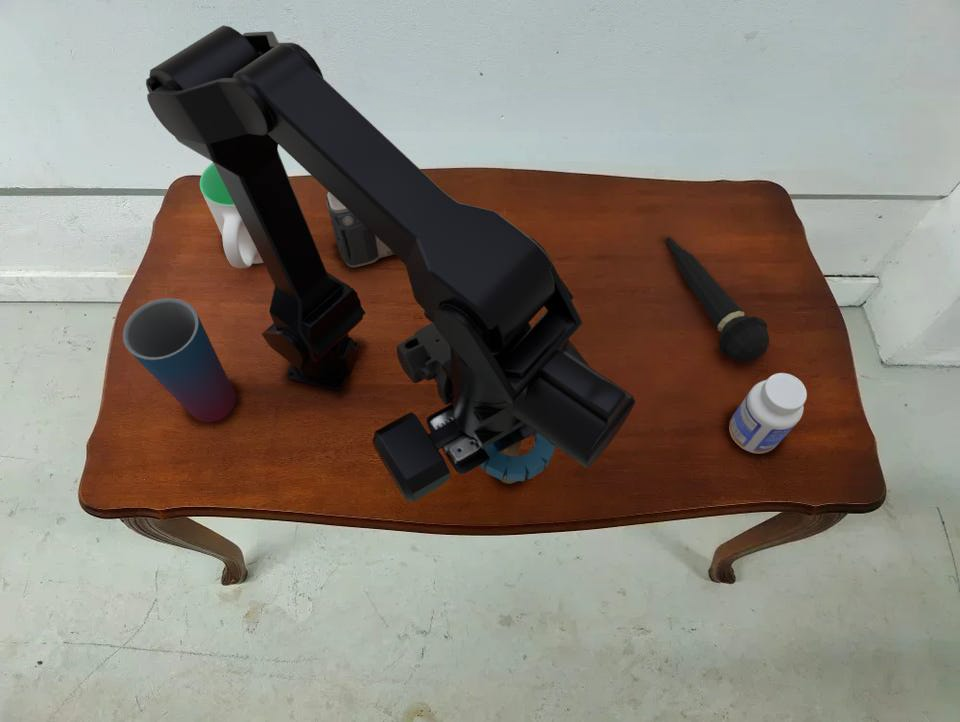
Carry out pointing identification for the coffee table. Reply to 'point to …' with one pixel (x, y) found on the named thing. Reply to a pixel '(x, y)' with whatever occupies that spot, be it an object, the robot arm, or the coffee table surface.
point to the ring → (519, 461)
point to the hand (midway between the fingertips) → (486, 453)
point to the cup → (180, 357)
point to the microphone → (723, 310)
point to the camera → (354, 236)
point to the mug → (228, 221)
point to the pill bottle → (768, 413)
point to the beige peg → (512, 451)
